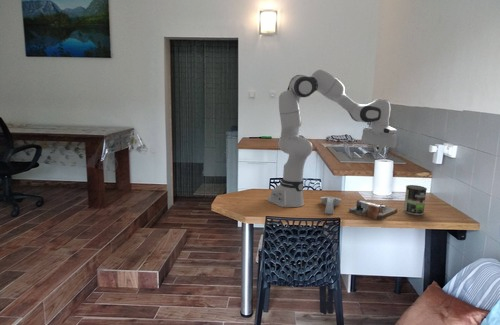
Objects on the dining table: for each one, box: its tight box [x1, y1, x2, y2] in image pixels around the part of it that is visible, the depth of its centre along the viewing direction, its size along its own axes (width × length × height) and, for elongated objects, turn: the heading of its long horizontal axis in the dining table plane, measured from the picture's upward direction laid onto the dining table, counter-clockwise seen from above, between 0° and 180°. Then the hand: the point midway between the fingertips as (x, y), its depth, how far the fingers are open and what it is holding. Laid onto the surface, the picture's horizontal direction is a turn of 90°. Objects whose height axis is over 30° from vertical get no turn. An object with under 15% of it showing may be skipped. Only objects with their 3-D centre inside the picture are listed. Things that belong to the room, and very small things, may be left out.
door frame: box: [348, 201, 398, 221], centre depth 204 cm, size 17×21×6 cm
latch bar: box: [355, 199, 387, 214], centre depth 198 cm, size 16×4×4 cm, turn 44°
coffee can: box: [403, 184, 427, 216], centre depth 205 cm, size 10×10×14 cm
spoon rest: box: [319, 196, 342, 215], centre depth 209 cm, size 24×12×7 cm, turn 167°
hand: (377, 153), depth 211 cm, fingers closed
